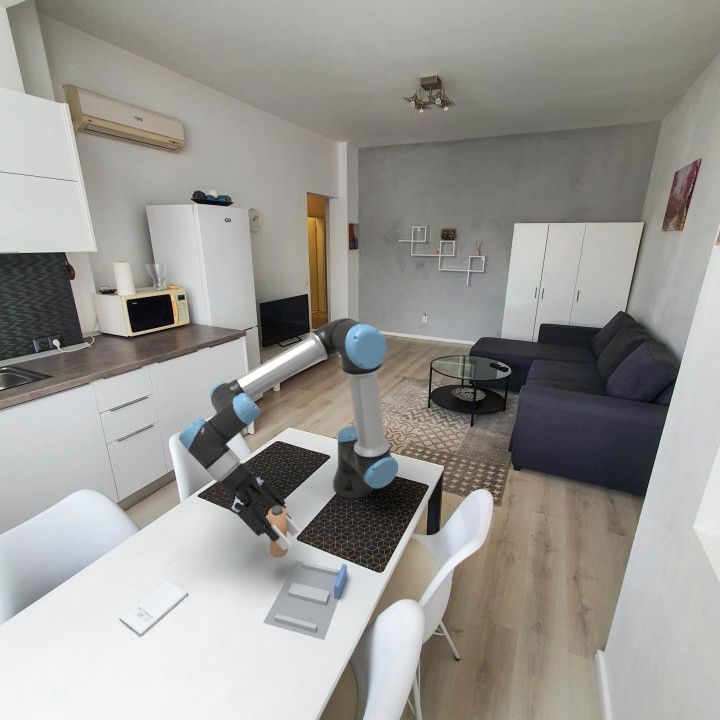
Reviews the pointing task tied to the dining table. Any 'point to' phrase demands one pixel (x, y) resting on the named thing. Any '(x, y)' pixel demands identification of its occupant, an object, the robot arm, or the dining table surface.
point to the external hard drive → (153, 607)
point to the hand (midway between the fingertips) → (291, 539)
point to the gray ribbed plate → (308, 599)
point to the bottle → (279, 520)
